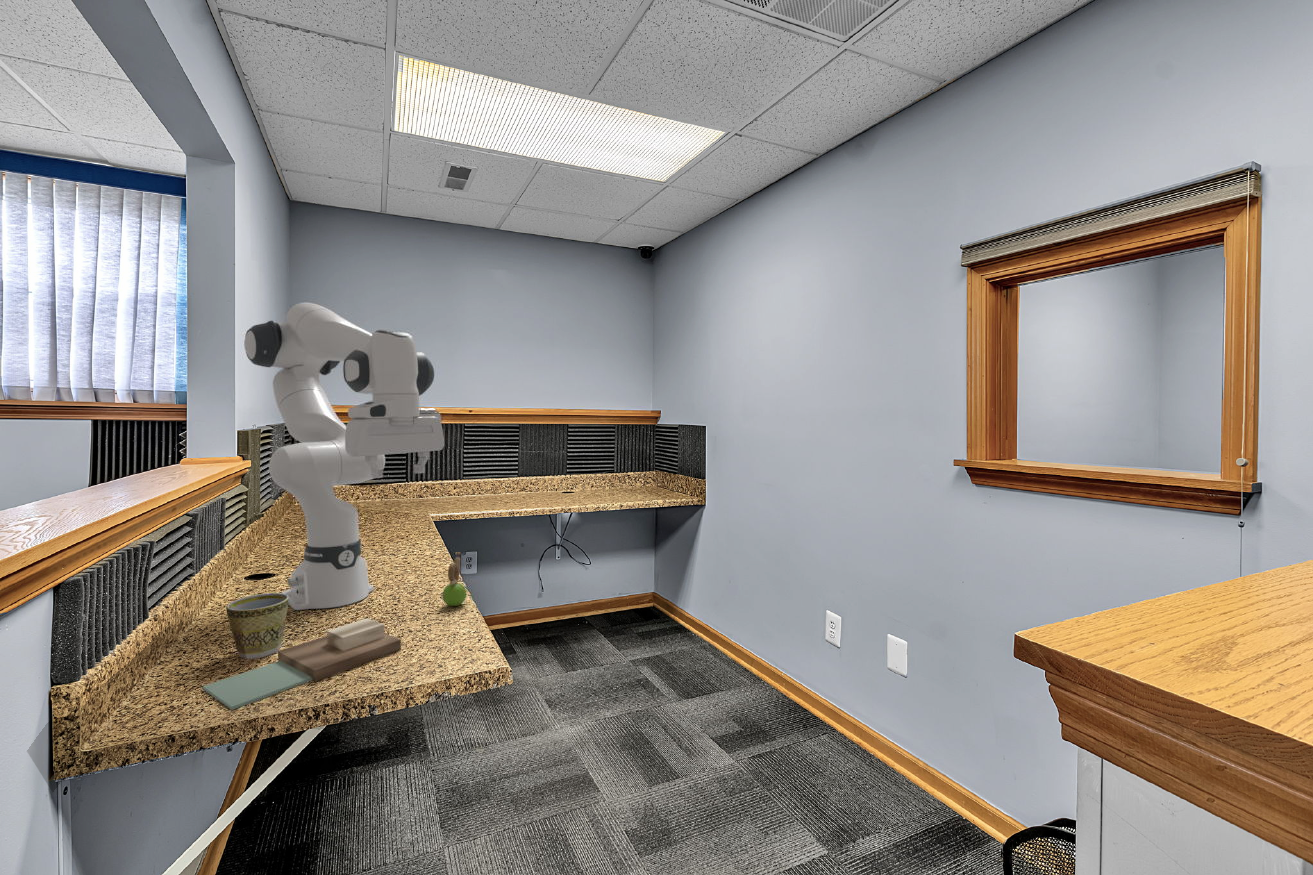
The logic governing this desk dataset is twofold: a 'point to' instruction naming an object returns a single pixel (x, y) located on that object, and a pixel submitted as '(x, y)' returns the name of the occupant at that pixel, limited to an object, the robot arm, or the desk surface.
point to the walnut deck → (335, 656)
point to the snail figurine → (454, 585)
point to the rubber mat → (256, 684)
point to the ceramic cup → (258, 623)
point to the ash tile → (355, 634)
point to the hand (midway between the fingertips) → (399, 475)
